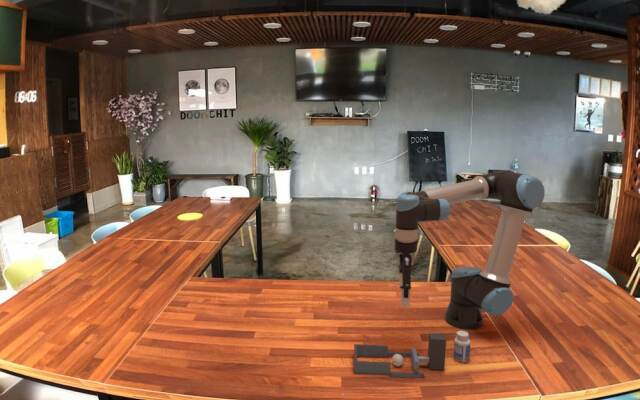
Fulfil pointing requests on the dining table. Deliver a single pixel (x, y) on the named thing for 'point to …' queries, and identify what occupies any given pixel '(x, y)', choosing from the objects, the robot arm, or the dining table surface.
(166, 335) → the dining table surface
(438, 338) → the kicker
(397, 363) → the ball
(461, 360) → the pill bottle
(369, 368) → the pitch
